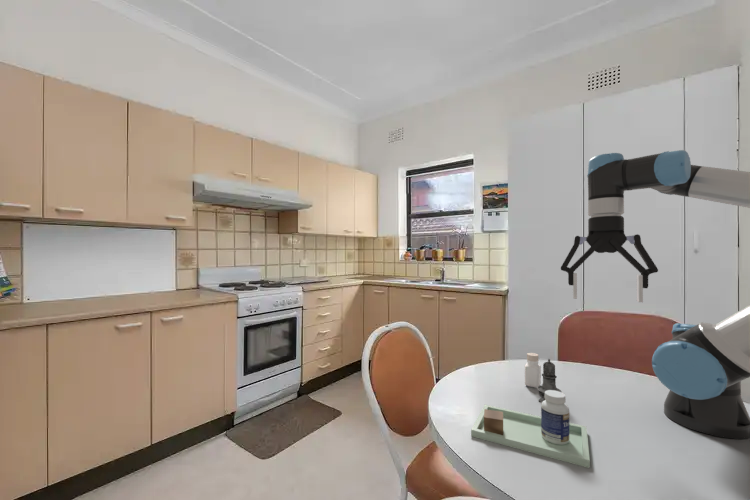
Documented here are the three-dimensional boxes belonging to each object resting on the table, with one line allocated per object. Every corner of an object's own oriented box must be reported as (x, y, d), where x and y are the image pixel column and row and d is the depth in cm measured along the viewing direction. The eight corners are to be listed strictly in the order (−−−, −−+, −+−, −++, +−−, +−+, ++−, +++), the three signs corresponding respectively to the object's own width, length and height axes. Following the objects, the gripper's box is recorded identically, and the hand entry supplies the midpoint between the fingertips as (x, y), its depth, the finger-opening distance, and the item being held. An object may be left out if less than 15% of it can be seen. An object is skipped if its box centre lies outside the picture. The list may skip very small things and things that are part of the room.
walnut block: (503, 429, 77) (502, 411, 77) (503, 438, 73) (503, 420, 73) (484, 426, 78) (484, 409, 78) (483, 435, 74) (483, 417, 74)
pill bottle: (569, 448, 69) (568, 401, 69) (540, 440, 72) (539, 395, 72) (570, 436, 74) (569, 391, 74) (542, 429, 76) (542, 386, 76)
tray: (586, 435, 75) (586, 426, 75) (589, 471, 63) (589, 460, 63) (484, 412, 86) (484, 404, 86) (471, 438, 74) (471, 429, 74)
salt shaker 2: (565, 409, 88) (564, 362, 88) (540, 406, 89) (540, 361, 89) (557, 399, 93) (557, 356, 93) (534, 397, 95) (534, 354, 95)
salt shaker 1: (527, 381, 106) (527, 351, 106) (541, 384, 104) (541, 353, 104) (524, 385, 103) (524, 354, 103) (538, 389, 100) (538, 357, 100)
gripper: (665, 214, 83) (666, 301, 83) (551, 220, 95) (551, 295, 95) (673, 211, 76) (674, 305, 76) (549, 217, 89) (550, 298, 89)
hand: (606, 299), depth 86 cm, fingers open, 13 cm apart
